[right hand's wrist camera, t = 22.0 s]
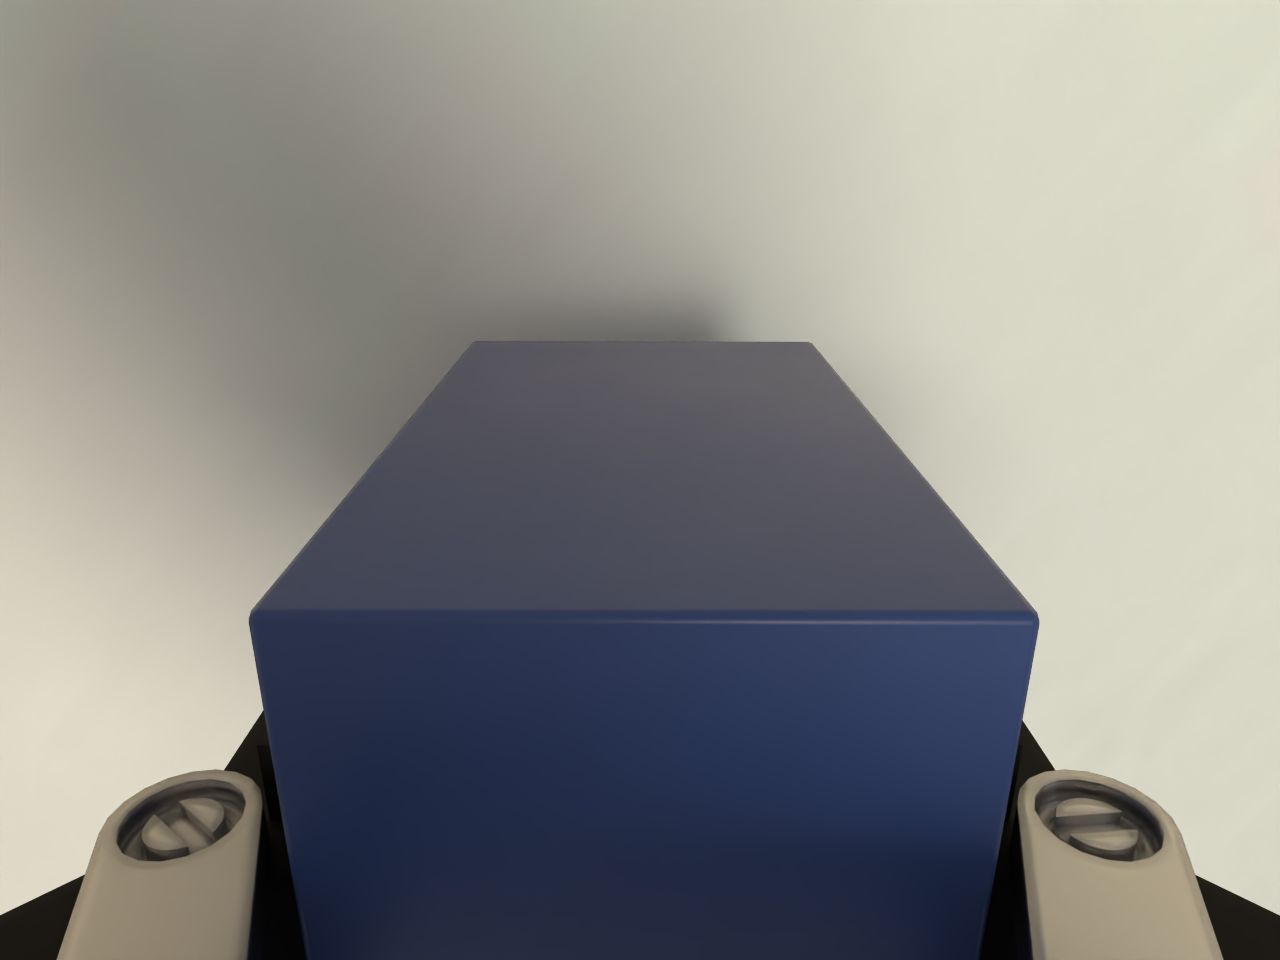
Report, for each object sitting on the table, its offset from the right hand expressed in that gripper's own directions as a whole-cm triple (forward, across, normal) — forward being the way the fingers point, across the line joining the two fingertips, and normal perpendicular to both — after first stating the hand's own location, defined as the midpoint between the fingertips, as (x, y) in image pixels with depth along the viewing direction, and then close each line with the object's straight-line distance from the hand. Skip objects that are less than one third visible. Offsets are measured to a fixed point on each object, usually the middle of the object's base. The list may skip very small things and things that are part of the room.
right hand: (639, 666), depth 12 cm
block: (+4, 0, 0) cm, 4 cm away
